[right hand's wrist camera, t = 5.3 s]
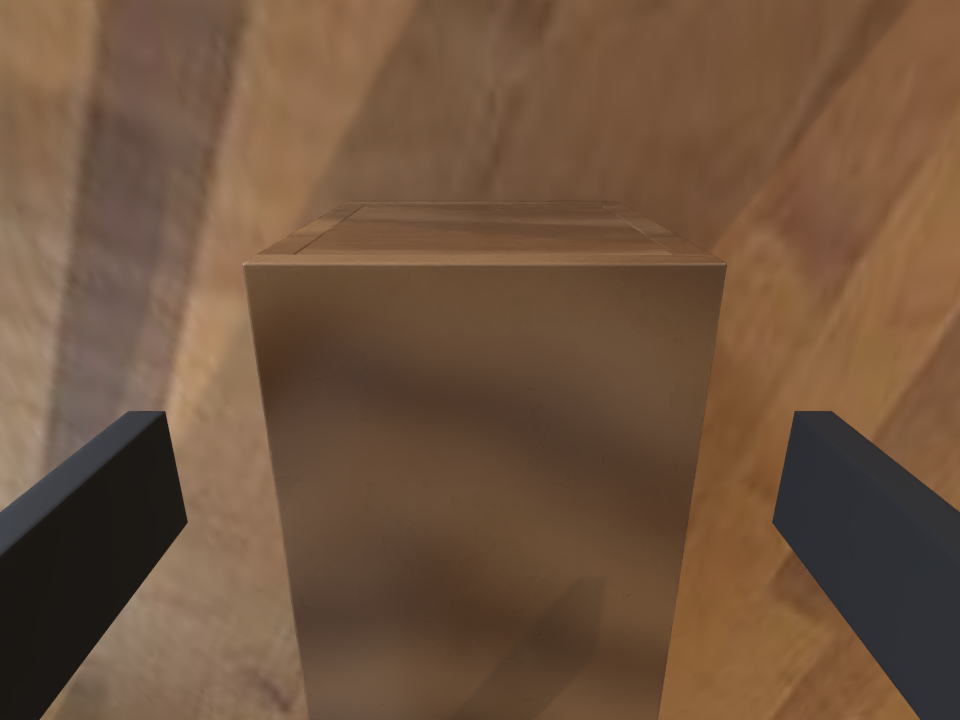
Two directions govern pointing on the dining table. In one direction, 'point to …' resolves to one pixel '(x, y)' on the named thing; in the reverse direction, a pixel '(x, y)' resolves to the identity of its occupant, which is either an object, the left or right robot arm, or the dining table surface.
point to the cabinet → (483, 452)
